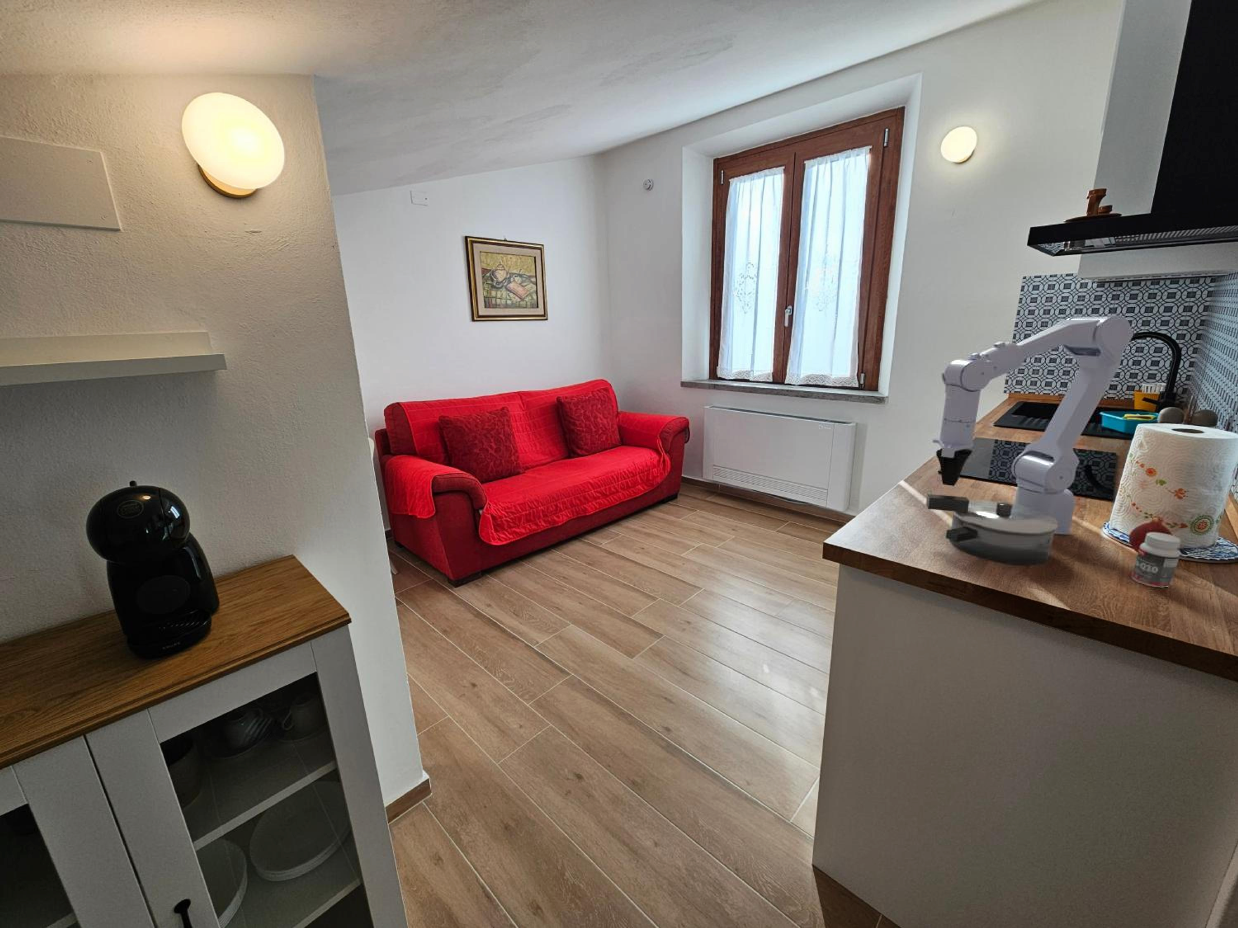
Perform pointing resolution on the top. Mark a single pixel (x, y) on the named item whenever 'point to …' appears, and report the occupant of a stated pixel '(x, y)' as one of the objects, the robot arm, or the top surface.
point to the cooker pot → (999, 544)
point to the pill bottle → (1157, 560)
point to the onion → (1141, 531)
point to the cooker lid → (995, 515)
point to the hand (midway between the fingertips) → (949, 483)
